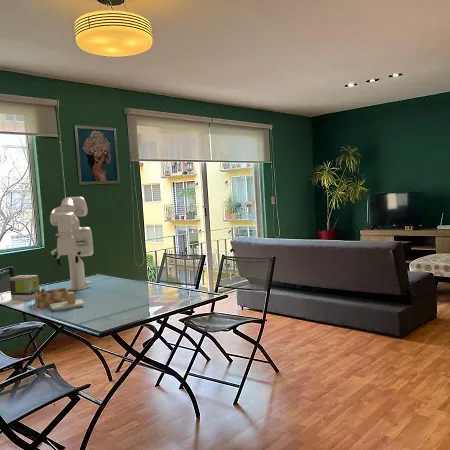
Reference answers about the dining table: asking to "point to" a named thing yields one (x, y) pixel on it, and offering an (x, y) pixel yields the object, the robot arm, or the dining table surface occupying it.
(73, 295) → the lid
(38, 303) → the open wooden box
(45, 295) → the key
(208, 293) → the dining table surface
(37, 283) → the tea box
